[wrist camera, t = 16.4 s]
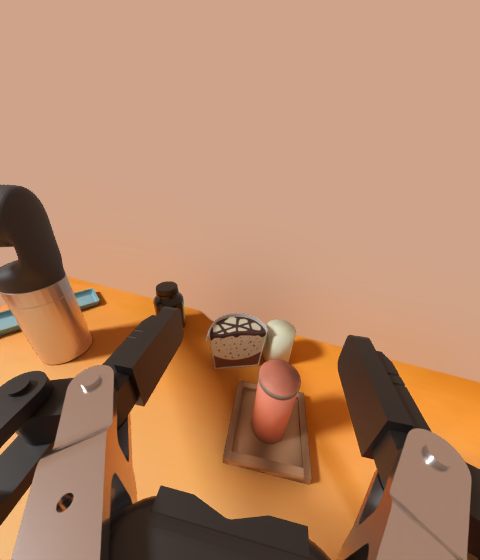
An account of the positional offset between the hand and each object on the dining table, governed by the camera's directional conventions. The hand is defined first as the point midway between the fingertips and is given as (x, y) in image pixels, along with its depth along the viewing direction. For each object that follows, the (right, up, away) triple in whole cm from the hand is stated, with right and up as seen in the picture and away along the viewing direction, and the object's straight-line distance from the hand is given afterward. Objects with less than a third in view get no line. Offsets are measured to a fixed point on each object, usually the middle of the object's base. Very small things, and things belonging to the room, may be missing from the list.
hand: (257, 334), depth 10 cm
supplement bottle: (-19, -9, +44) cm, 48 cm away
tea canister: (+4, -21, +23) cm, 31 cm away
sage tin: (+7, -14, +36) cm, 40 cm away
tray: (+4, -21, +24) cm, 32 cm away
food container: (-2, -14, +36) cm, 39 cm away
